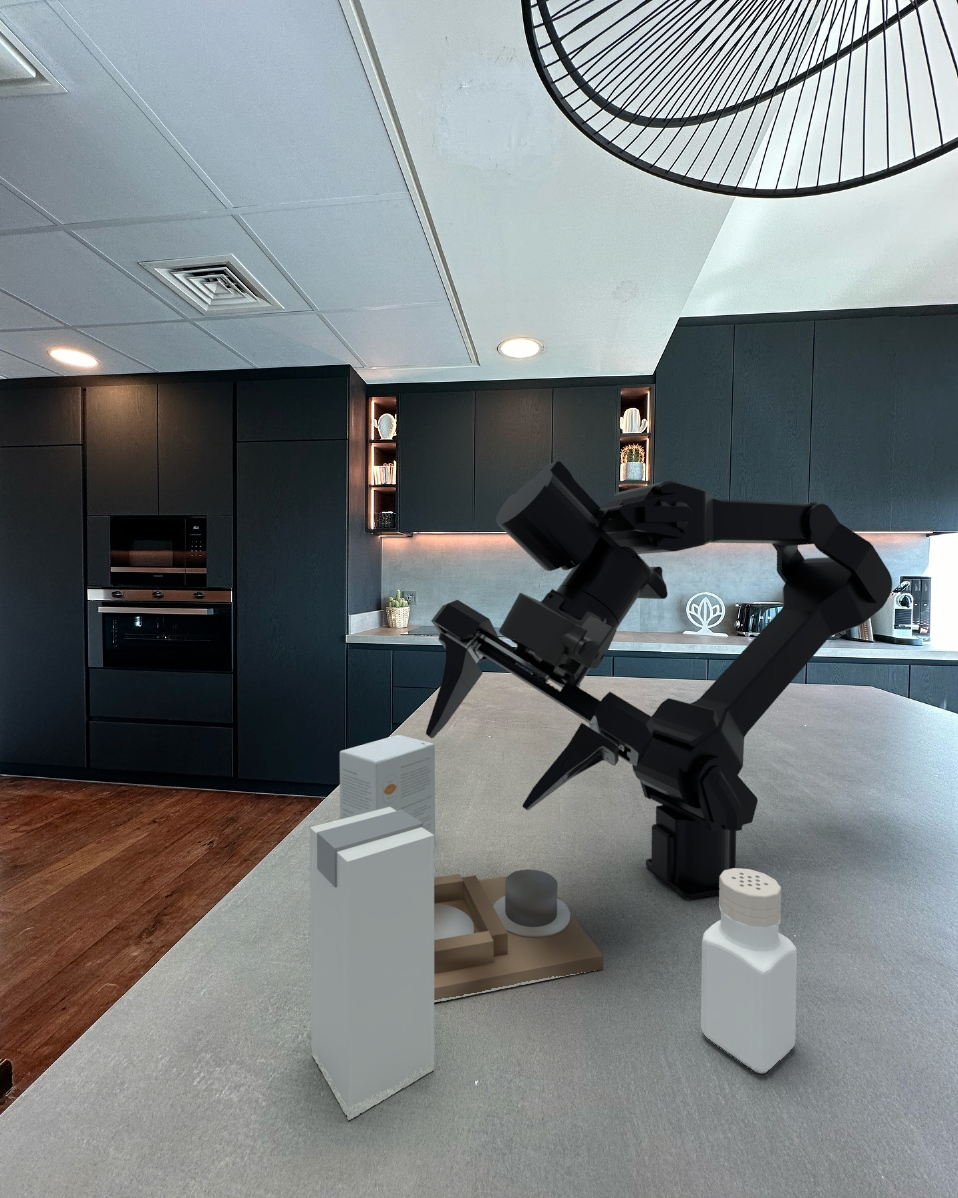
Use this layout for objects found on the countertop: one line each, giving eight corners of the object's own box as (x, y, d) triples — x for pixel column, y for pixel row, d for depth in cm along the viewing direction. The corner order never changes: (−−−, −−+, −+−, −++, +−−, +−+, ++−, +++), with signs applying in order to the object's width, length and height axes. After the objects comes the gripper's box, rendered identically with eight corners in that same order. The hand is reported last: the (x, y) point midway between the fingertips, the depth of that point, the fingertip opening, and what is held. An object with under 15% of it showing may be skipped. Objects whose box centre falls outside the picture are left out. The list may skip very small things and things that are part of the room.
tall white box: (392, 1015, 36) (391, 803, 35) (435, 1070, 32) (435, 831, 31) (309, 1056, 32) (308, 824, 32) (346, 1123, 28) (345, 858, 28)
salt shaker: (763, 1085, 31) (766, 908, 30) (696, 1037, 34) (698, 877, 34) (800, 1049, 33) (802, 885, 33) (733, 1008, 36) (735, 858, 36)
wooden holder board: (538, 883, 51) (538, 844, 51) (603, 969, 40) (603, 919, 40) (354, 910, 47) (354, 868, 47) (367, 1017, 35) (367, 961, 35)
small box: (399, 830, 62) (398, 733, 62) (436, 844, 59) (436, 742, 59) (338, 857, 56) (337, 749, 56) (376, 875, 53) (375, 761, 52)
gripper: (476, 506, 44) (344, 672, 40) (710, 625, 36) (573, 845, 32) (502, 574, 53) (398, 713, 50) (690, 679, 46) (583, 853, 42)
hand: (474, 771), depth 43 cm, fingers open, 9 cm apart
